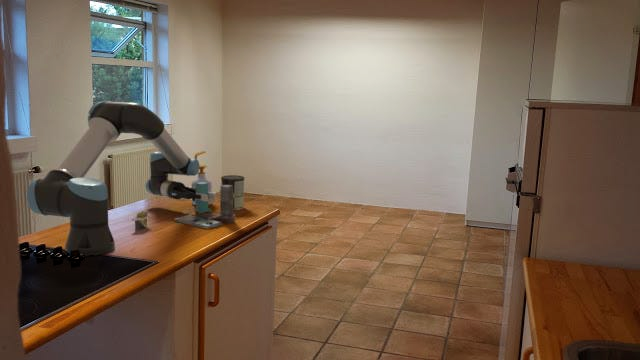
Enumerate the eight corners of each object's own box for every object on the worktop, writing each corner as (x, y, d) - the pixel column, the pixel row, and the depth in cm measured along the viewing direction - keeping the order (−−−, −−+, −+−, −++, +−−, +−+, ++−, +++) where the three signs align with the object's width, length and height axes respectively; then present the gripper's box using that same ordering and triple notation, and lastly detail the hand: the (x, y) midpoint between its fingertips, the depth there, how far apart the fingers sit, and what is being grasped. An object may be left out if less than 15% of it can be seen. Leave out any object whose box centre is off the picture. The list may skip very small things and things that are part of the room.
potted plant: (166, 224, 225) (166, 208, 224) (147, 236, 207) (146, 218, 206) (137, 222, 226) (137, 206, 225) (116, 234, 209) (115, 216, 208)
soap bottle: (213, 205, 260) (213, 152, 256) (193, 206, 257) (192, 152, 253) (209, 201, 268) (209, 149, 264) (190, 202, 265) (189, 150, 261)
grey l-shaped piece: (213, 227, 220) (213, 189, 218) (180, 219, 231) (180, 183, 229) (235, 222, 230) (235, 185, 228) (203, 214, 241) (203, 180, 239)
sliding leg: (188, 216, 228) (187, 186, 226) (179, 214, 231) (179, 185, 229) (210, 211, 238) (210, 183, 236) (202, 209, 241) (202, 181, 239)
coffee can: (222, 210, 250) (222, 179, 248) (219, 205, 260) (219, 175, 257) (246, 209, 253) (246, 178, 251) (242, 205, 263) (242, 175, 260)
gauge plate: (207, 229, 218) (207, 225, 217) (174, 221, 229) (174, 217, 228) (222, 225, 224) (222, 222, 224) (189, 217, 235) (189, 214, 235)
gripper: (188, 195, 254) (225, 203, 241) (158, 201, 241) (195, 209, 227) (188, 179, 253) (225, 185, 239) (157, 183, 240) (195, 191, 226)
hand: (211, 197), depth 233 cm, fingers closed on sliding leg, 4 cm apart
